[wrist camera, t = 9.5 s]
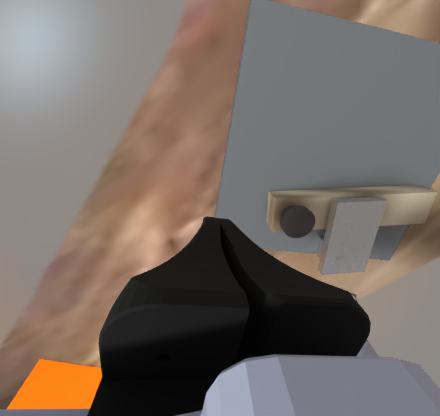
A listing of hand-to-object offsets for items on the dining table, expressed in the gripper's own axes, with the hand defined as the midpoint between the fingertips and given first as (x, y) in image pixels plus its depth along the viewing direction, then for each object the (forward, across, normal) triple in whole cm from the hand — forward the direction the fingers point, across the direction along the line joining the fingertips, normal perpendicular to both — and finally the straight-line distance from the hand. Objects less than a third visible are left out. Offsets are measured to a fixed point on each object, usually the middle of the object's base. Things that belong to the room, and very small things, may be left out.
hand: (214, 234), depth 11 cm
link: (+8, -12, 0) cm, 15 cm away
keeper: (+8, -12, +2) cm, 15 cm away
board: (+9, -11, -4) cm, 15 cm away
